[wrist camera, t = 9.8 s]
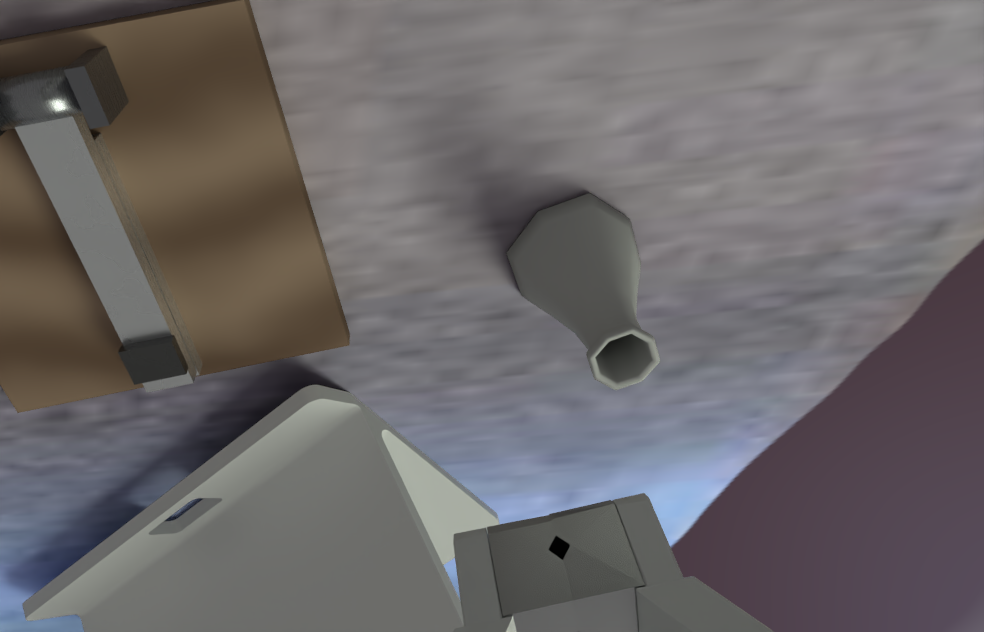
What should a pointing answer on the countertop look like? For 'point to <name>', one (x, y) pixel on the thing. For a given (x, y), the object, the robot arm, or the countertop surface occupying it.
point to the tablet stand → (285, 536)
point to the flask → (588, 284)
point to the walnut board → (168, 209)
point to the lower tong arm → (100, 107)
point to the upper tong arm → (96, 224)
